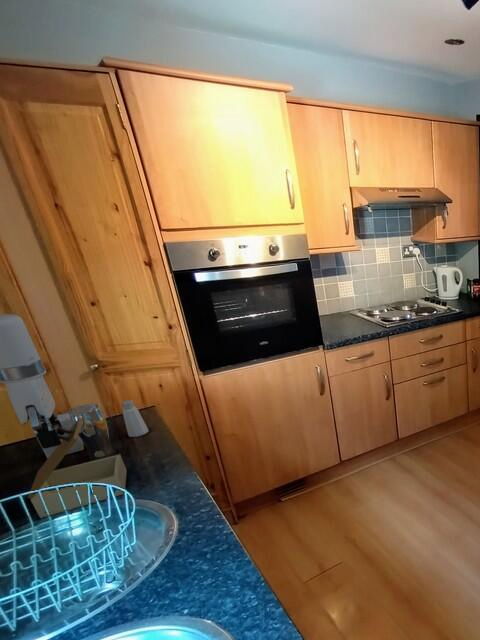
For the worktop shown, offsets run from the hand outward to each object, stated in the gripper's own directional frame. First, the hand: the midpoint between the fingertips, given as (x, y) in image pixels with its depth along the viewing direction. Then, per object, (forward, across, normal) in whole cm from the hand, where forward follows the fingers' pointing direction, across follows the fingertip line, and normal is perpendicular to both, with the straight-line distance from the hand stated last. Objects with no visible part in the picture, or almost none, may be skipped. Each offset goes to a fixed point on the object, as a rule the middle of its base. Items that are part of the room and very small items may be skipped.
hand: (54, 440), depth 107 cm
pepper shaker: (+16, -30, +11) cm, 36 cm away
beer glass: (+16, -20, +3) cm, 26 cm away
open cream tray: (+16, 0, +1) cm, 16 cm away
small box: (+16, -29, -6) cm, 34 cm away
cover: (+4, 0, 0) cm, 4 cm away
